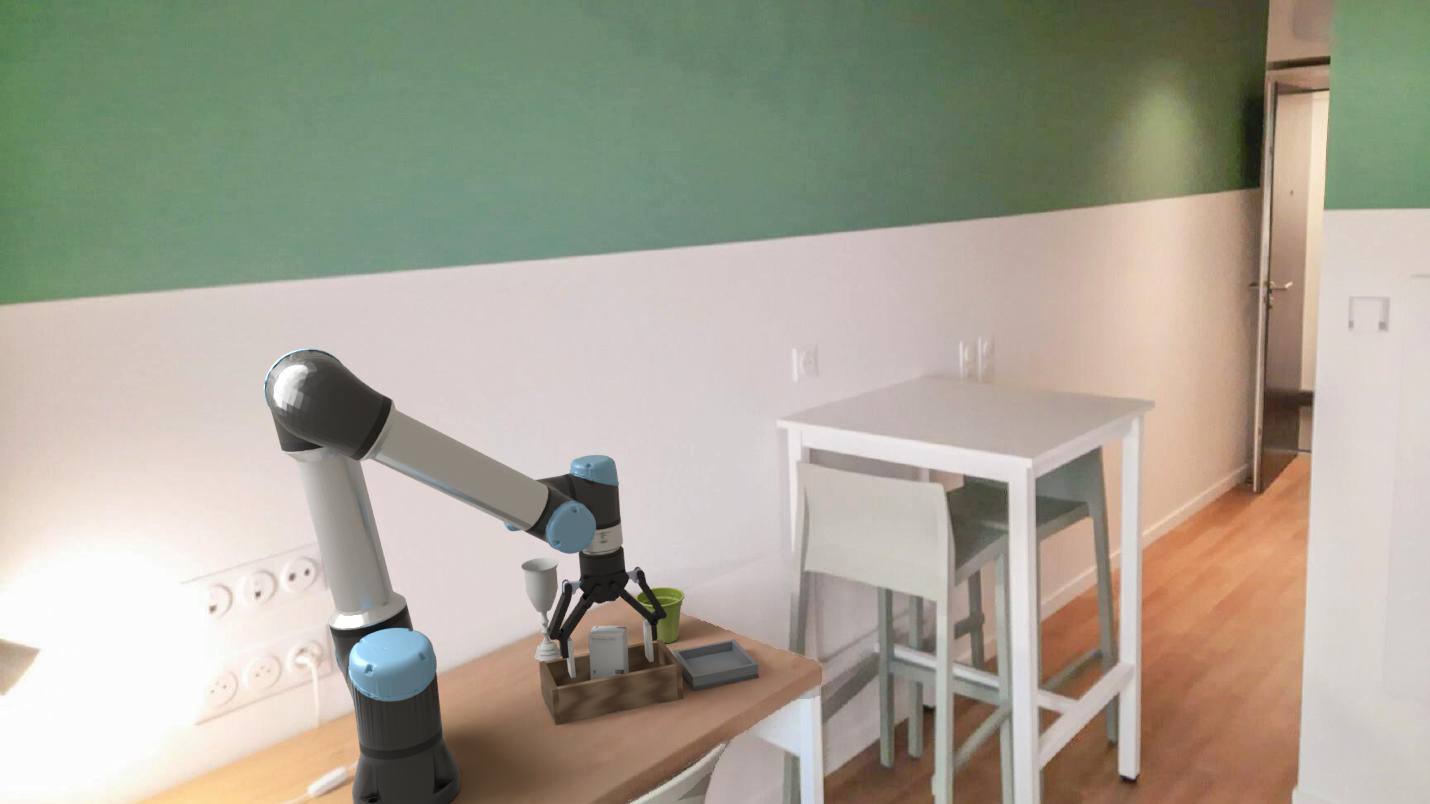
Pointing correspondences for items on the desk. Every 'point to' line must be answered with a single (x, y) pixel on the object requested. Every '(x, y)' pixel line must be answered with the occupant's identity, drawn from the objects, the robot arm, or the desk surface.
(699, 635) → the desk surface
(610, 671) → the skincare box
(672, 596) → the plant pot
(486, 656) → the desk surface
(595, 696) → the walnut box
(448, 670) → the desk surface
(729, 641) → the charcoal tray
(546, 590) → the chalice
